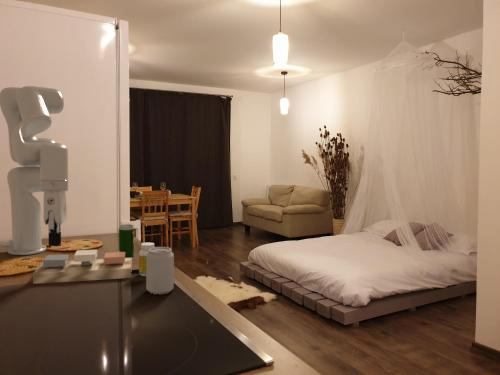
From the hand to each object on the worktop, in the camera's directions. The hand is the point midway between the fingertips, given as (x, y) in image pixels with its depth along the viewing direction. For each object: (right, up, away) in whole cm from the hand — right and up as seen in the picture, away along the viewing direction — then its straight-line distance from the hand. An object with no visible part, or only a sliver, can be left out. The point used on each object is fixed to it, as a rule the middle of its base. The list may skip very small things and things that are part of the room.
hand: (54, 245), depth 121 cm
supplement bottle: (+27, -10, +5) cm, 29 cm away
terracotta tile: (+17, -7, +5) cm, 19 cm away
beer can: (+15, -8, +21) cm, 27 cm away
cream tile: (+9, -6, +2) cm, 11 cm away
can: (+34, -12, -10) cm, 38 cm away
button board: (+9, -10, +3) cm, 13 cm away
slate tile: (0, -7, 0) cm, 7 cm away
